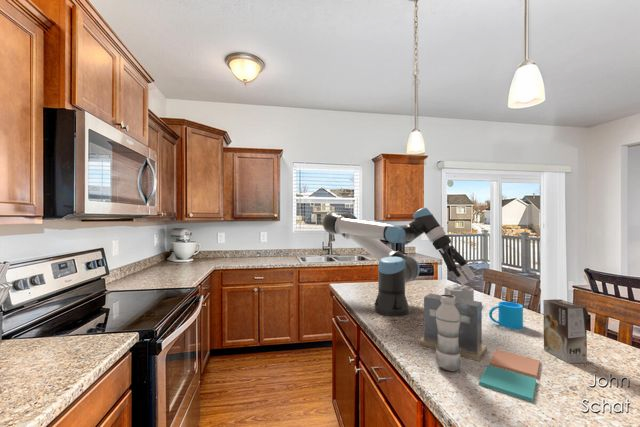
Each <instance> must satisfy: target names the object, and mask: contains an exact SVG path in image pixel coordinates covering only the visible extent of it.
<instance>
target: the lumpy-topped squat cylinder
mask: <svg viewBox="0 0 640 427" xmlns="http://www.w3.org/2000/svg"><path fill="white" fill-rule="evenodd" d="M443 291H444V293H443V294H447V295H453V296H455V298H460V299H466V300H472V301H475V300H474V299H475V296H474V293H475V292H474V288H473V287H470V286H468V285H466V284H463V285H461V284H460V285H459V284H458V283H453V284H448V285H446V286H444V290H443Z"/></svg>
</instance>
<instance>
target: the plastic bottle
mask: <svg viewBox="0 0 640 427" xmlns="http://www.w3.org/2000/svg"><path fill="white" fill-rule="evenodd" d="M440 295H441V303H442V304H441V305H440V306H439V307H438V309H437V310H436V313H435V314H436V322H437V332H438V341H437V349H435V356H434V357H435V363H436V364H437V366H438V367H439V368H440V369H443V370H445V371H449V372H457V371H459V370H460V368H461V366H462V359H461V358H462V356H460V353H459V342H458V339H459V337H458V336H459V326H460V319H461V316H460V313H459V311H458V310H457V308H456V307H455V305H454V304H456V302H455V296H453V295H447V294H444V293H443V294H440Z"/></svg>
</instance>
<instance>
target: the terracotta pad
mask: <svg viewBox="0 0 640 427" xmlns="http://www.w3.org/2000/svg"><path fill="white" fill-rule="evenodd" d="M540 363H541V362H540V359H536V358H534V357H528V356H526V355H521V354H517V353H512V352H510V351H509V352H508V351H504V350H500V349H497V348H496V349H495V350H494V353H493V355H492V356H491V358H490V360H489V362H488V365H490V366H493V367H497V368H500V369H504V370H507V371H511V372H514V373H518V374H522V375H525V376H529V377H532V378H536V380H537V379H538V374H539V369H540Z"/></svg>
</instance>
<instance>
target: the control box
mask: <svg viewBox="0 0 640 427" xmlns="http://www.w3.org/2000/svg"><path fill="white" fill-rule="evenodd" d="M441 295H442V294H436V293H429V294H427V295H425V296H424V297H423V336H422V337H421V338H419V339H418V344H419V346H423V347H427V348H431V349H434V350H436V349H437V341H438V332H437V322H436V314H435V313H436V310H437V309H438V307H439V306H440V305H441V304H442V303H441ZM455 302H456V304H454V305H455V307H456V308H457V310H458V311H459V313H460V316H461V319H460V326H459V336H458V337H459V339H458V342H459V353H460V357H461V358H462V357H463V358H465V359H469V360H472V361H476V362H481V361H482V359H483V358H484V355H485V354H486V352H487V351H488V345H487V344H483V343H482V342H483V341H482V338H483V335H482V334H483V333H482V331H483V328H482V326H483V322H482V320H483V319H482V318H483V317H482V316H483V313H482V312H483V309H482V308H483V305H482V304H483V301H477V300H474V301H472V300H466V299H460V298H455Z"/></svg>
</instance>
